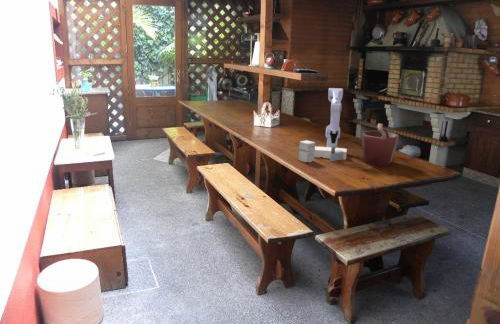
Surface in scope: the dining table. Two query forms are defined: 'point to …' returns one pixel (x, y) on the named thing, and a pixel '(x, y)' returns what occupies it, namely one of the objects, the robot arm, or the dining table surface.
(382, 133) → the bucket
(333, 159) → the flap
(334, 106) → the robot arm
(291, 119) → the dining table surface
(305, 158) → the supplement box
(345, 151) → the carton
